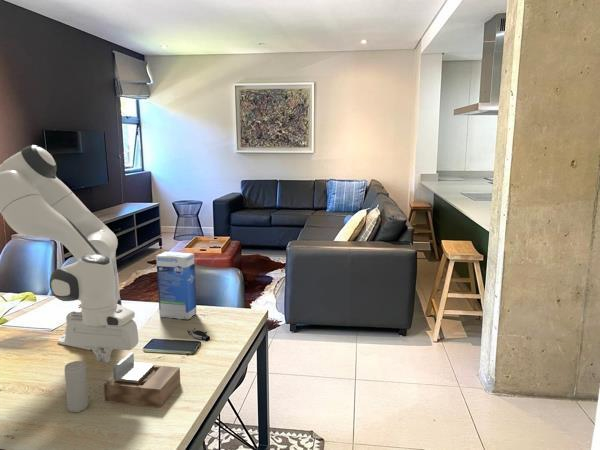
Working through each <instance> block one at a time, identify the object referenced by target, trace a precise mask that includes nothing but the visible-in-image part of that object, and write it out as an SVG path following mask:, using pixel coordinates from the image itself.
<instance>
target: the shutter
mask: <svg viewBox="0 0 600 450" xmlns="http://www.w3.org/2000/svg"><path fill="white" fill-rule="evenodd" d="M134 354H135V353H134V352H129V353H128V354H127V355H126V356H125V357H124V358H123V359H121V360H120V361H118V362H117V364H115V365H114V366H113V367H112V372H113V374H112V376H113V375H114V381H122V382H132V383H139V382H140V381H141V380H142V379H143V378H144V377H145V376H146V375H147V374H148V373H149V372H150V371H151V370H152V369H153V368H154V365H155V363H146V362H135V355H134Z"/></svg>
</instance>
